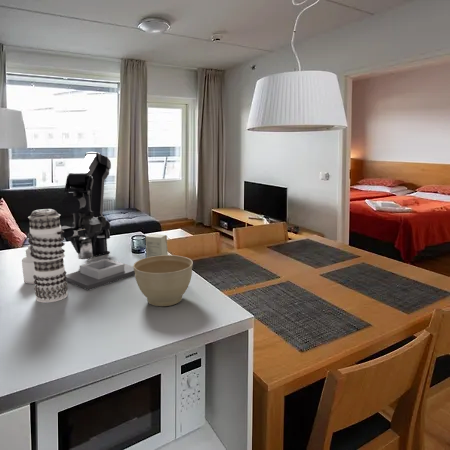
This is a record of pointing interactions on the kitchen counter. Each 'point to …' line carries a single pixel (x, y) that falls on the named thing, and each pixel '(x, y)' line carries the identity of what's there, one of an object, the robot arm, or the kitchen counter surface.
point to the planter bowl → (163, 278)
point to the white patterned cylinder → (47, 255)
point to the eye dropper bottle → (28, 267)
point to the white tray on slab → (99, 273)
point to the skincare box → (156, 245)
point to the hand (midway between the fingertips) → (85, 251)
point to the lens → (85, 248)
